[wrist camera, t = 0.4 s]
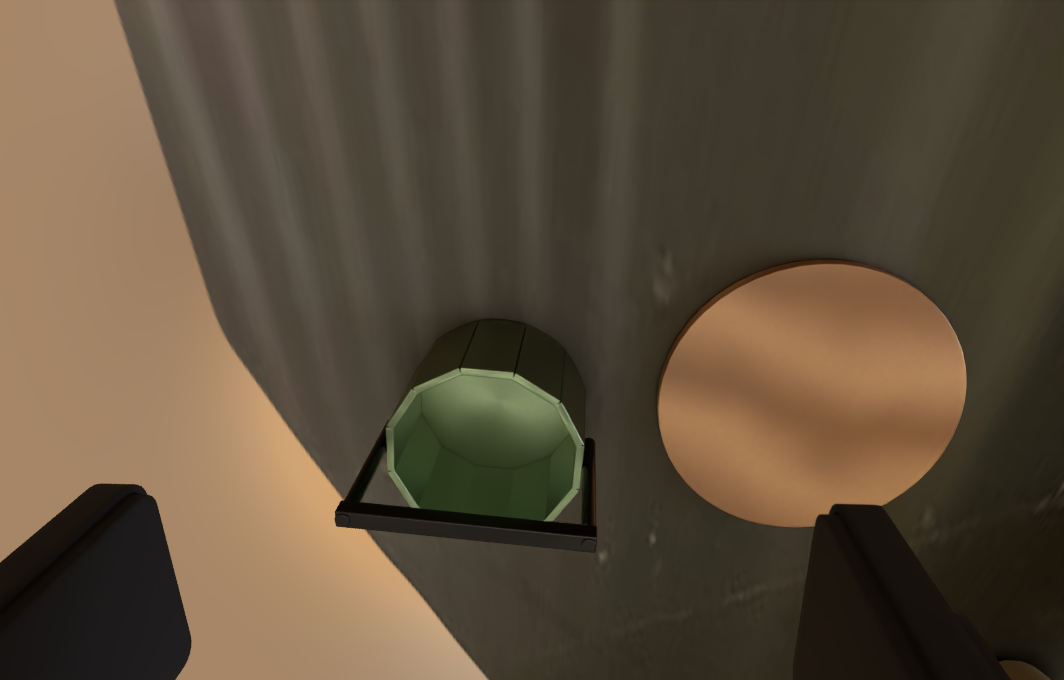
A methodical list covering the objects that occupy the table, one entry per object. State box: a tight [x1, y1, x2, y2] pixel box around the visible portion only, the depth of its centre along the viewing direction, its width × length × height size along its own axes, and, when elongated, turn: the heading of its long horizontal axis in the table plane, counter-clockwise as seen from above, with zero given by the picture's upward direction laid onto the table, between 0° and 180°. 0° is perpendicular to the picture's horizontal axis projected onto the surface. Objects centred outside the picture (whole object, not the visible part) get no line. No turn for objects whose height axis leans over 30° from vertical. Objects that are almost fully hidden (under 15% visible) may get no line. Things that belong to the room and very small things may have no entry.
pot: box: [335, 319, 597, 553], centre depth 42 cm, size 12×14×15 cm
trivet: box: [657, 260, 966, 527], centre depth 47 cm, size 20×20×1 cm
